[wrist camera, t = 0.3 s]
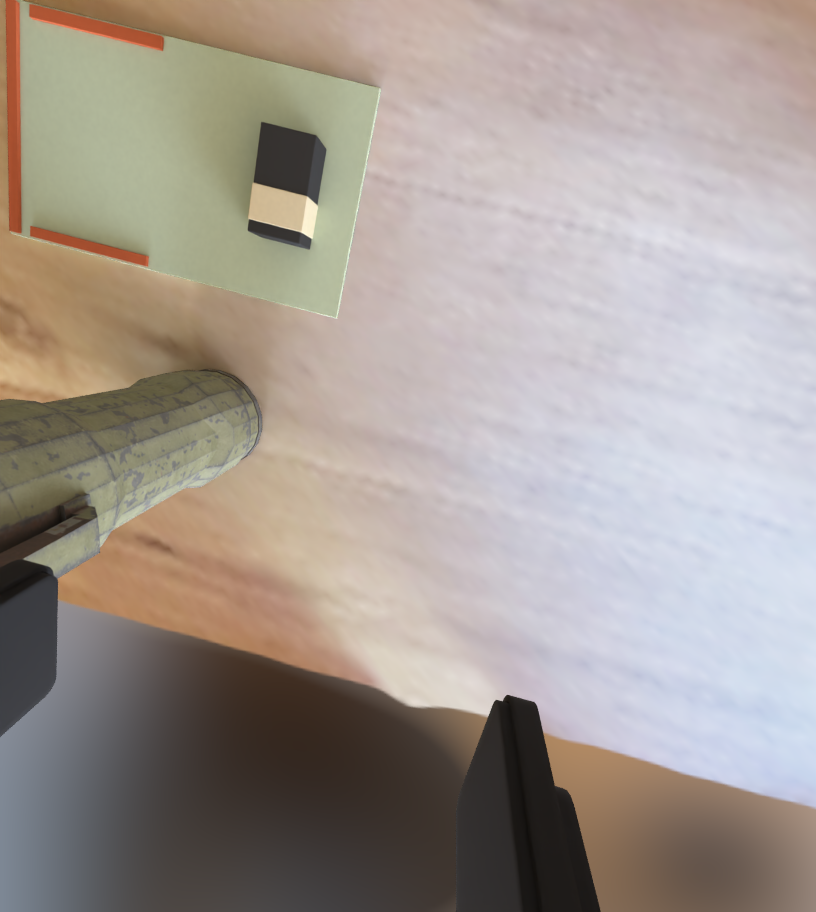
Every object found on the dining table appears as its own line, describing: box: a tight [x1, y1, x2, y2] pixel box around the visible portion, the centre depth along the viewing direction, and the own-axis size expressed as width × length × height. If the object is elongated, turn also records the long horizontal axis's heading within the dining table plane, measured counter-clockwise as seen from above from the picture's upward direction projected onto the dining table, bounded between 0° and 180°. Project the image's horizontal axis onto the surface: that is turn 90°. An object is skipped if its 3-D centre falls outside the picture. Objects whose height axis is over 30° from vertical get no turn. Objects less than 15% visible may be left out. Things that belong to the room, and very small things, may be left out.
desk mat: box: [6, 0, 381, 318], centre depth 34 cm, size 16×28×1 cm, turn 76°
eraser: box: [248, 122, 326, 250], centre depth 33 cm, size 7×4×3 cm, turn 166°
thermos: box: [0, 369, 262, 579], centre depth 23 cm, size 9×12×35 cm
